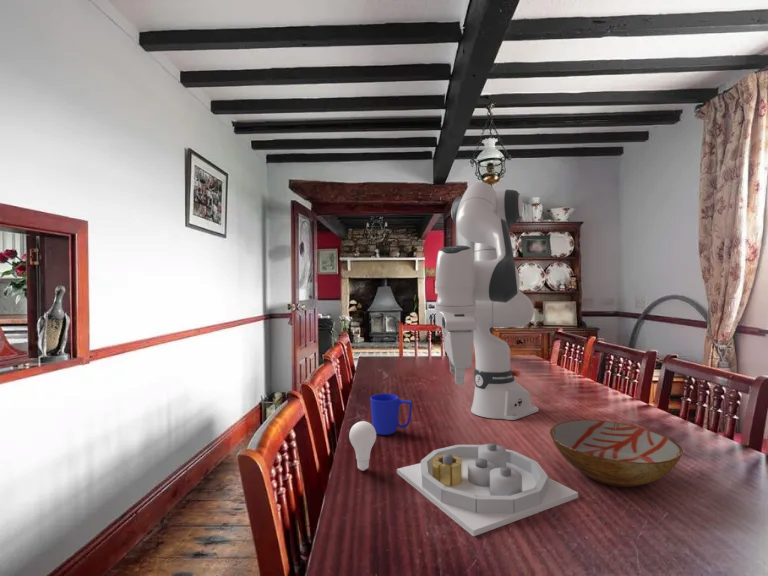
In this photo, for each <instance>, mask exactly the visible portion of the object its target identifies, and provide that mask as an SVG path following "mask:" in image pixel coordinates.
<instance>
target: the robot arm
mask: <svg viewBox="0 0 768 576" xmlns="http://www.w3.org/2000/svg"><path fill="white" fill-rule="evenodd" d="M523 210H524V201H523V199H522V197H521V194H520V192H518V191H517V190H515V189H505V190H495V188H493V186H492V185H490V184H489V183H486V182H484V181H483V182H480V181H479V182H475V183H472V184H471V185H469V186H468V187H467V188H466V190H465V191H464V193H463V194H462V195H461V196H458V197H456V198H455V199H454V200H453V202H452V204H451V210H450V214H451V219H452V221H453V224H454V225H455V226H456V229H457V230H458V232H459V234H460V235H461V236H462V237H463V238H464V239H466V240H467V241H469V242H471V243H474V249H472V248H471V247H470V246H468V245H450V246H445V247H442V248H440V249H439V250H438V252H437V256H436V266H435V289H436V292H437V297H436V302H435V312H436V313H435V319H436V320H435V323H436V326H437V327H439V328H441V333H442V334H443V347H444V350H445V353H446V355H447V356H448V360H449V371H450V373H451V374H452V375H454V382H455V385H456V386H464V385H465V377H466V376H465V375H466V369H468V368H470V367H472V362H473V357H474V359H475V362H474V363H475V367H474V368H473V371H474V372H473V379H474V391H473V392H474V394H473V399H472V403H471V404H472V405H471V408H470V412H471V413H472V414H473V415H476V416H479V417H482V418H486V419H487V418H488V419H499V420H506V421H507V420H508V421H516V420H518V419H521V418H524V417H527V416H529V415H532V414H535V413H538V412H539V408H538V406H536V405H535V404H532V402H531V401H532V399H531V395H530V392H529V391H528V390H527V389H525V388H524V387H523V386H522V385H521V384H520V383H518V382H517V381H516V380H515V379H516V378H515V377H518V378H519V377H520V376H521V371H520V370H516V369H513V370H512V369H511V348H510V345H508V344H509V343H508V342H506V341H505V340H503V339H501V338H500V337H498V336H496V335H493V334H492V333H491V328H515V327H516V328H518V327H522V326H523V327H524V326H527V325H528V324H529V323H530V322H531V321H532V319H533V317H534V313H535V307H534V304H533V302H532V300H531V298H529V297H528V296H527V295H526V294H524V293H523V292H522V291H521V289H520V284H521V283H520V282H521V279H520V274H519V270H518V268H517V266H516V263H515V259H514V257H515V256H514V252H513V251H514V249H513V244H512V239H511V234H510V230H511V229H512V227H513V225H515V224H517V222H519V220H520V219H521V217H522V214H523ZM473 250H474V251H473ZM473 252H474V253H473ZM473 354H474V355H473Z"/></svg>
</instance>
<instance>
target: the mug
mask: <svg viewBox="0 0 768 576" xmlns="http://www.w3.org/2000/svg"><path fill="white" fill-rule="evenodd" d="M369 401H370V411H371V412H370V413H371V424H372V426H373V427H374V428H375V431H376V435H380V436H389V435H392V434H394V433H395V432H396V431H397V428H400V429H401V428H402V429H405V428H407V427H408V426H409V425H410V422H411V419H412V411H413V402H412V401H411V400H406V399H405V400H404V399H400V397H399V396H398V395H397V394H393V393H376V394H374V395H371V396H370V397H369ZM401 404H408V405H409V409H408V410H409V411H408V418H407V421H406V422H405V423H404V424H400V423H399V414H400V405H401Z"/></svg>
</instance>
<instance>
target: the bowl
mask: <svg viewBox="0 0 768 576" xmlns="http://www.w3.org/2000/svg"><path fill="white" fill-rule="evenodd" d="M549 435H550V437H551V439H552V441H553V443H554V445H555V447H556V448H557V450H558V451H559V453H560V454H561V455H562V456H563V457H564V459H565V460H566V461H567V462H568V463H569V464H570V465H571V466H572V467H574V468H575V469H576V470H578V471H580V472H581V473H582V474H584V475H585V476H587V477H589V479H592V480H594V481H596V482H597V483H602V484H604V485H607V486H611V487H617V488H633V487H634V488H635V487H638V486H642V485H647V484H650V483H653V482H655V481H658V480H660V479H661V478H663V477H665V476H666V475H667V474H668V473H669V472H670V471H672V470H673V469H674V467H675V466H676V465H677V464H678V463H679V461H680V459H681V458H682V456H683V455H684V453H683V449H682V447H681V446H680V444H678V443H677V442H676V441H674V440H672V439H671V438H670V437H667V436H665V435H663V434H661V433H658V432H655V431H653V430H649V429H647V428H642V427H639V426H635V425H632V424H627V423H626V424H625V423H623V422H622V423H621V422H616V421H615V422H614V421H608V420H597V419H596V420H595V419H576V420H568V421H562V422H558V423H557V424H554V425H553V426H552V427H550V429H549Z"/></svg>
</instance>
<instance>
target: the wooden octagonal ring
mask: <svg viewBox="0 0 768 576" xmlns="http://www.w3.org/2000/svg"><path fill="white" fill-rule="evenodd" d="M452 458H453V464H443V454H442V455H438V456H435V457H434V458H433V460H432V471H433V478H435V479H436V480H437V481H439V482H440V483H442V484H443V485H444V486H448V487H450V486H452V487H453V486H456V485H460V483H462V480H463V469H462V459H461V458H459V457H457V456H454V455H452Z"/></svg>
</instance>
